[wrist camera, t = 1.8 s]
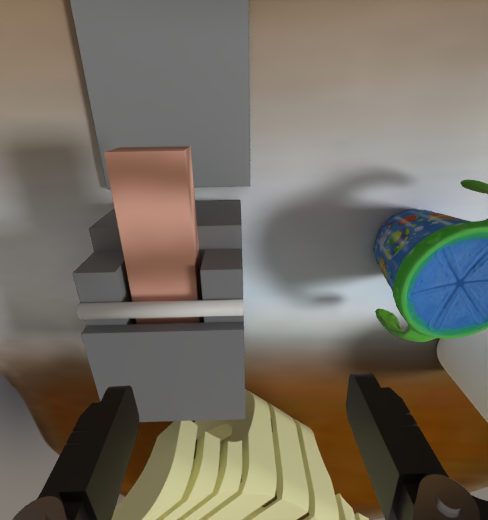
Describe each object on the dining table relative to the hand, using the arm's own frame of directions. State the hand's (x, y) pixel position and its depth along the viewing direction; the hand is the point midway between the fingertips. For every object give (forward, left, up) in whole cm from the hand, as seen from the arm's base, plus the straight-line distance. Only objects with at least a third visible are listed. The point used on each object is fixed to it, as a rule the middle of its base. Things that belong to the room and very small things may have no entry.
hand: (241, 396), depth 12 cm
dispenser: (+7, -6, -24) cm, 25 cm away
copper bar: (0, -6, -16) cm, 17 cm away
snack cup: (+4, +18, -24) cm, 30 cm away
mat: (-11, -6, -24) cm, 27 cm away
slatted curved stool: (+33, 0, -24) cm, 40 cm away
